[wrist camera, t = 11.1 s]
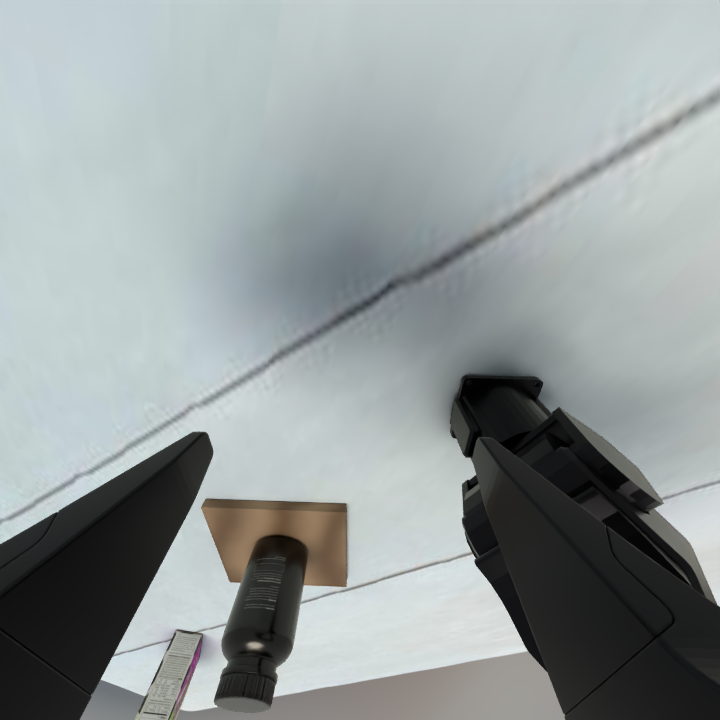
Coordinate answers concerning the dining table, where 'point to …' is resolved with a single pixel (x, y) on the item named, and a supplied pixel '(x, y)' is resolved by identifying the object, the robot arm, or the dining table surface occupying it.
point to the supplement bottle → (262, 624)
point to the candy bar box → (172, 678)
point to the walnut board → (281, 534)
